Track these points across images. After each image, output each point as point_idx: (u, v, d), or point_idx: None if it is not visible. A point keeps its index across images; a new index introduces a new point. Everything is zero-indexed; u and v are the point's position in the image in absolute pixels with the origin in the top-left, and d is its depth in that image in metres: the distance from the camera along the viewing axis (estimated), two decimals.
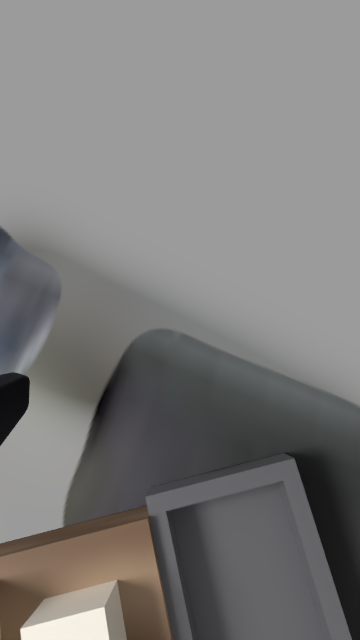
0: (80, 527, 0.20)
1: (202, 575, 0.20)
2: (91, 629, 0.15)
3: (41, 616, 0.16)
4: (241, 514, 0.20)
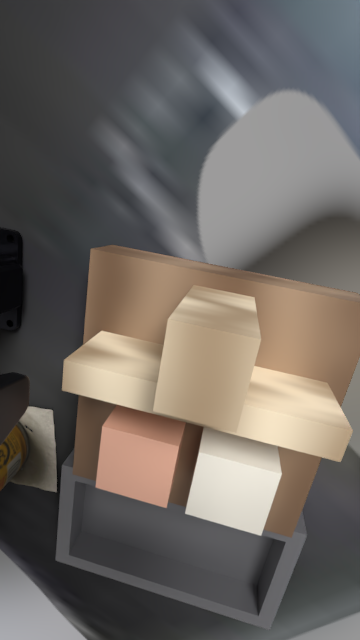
0: None
1: None
2: (250, 521, 0.17)
3: None
4: (242, 552, 0.24)
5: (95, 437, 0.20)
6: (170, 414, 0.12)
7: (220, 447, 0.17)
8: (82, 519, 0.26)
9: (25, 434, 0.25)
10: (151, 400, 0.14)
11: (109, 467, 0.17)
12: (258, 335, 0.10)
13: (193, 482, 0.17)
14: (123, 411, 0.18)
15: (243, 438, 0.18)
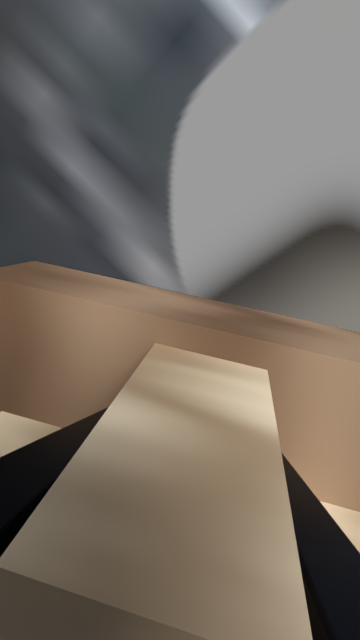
0: None
1: None
2: None
3: None
4: None
5: None
6: None
7: None
8: None
9: None
10: None
11: None
12: (303, 629, 0.03)
13: None
14: None
15: None
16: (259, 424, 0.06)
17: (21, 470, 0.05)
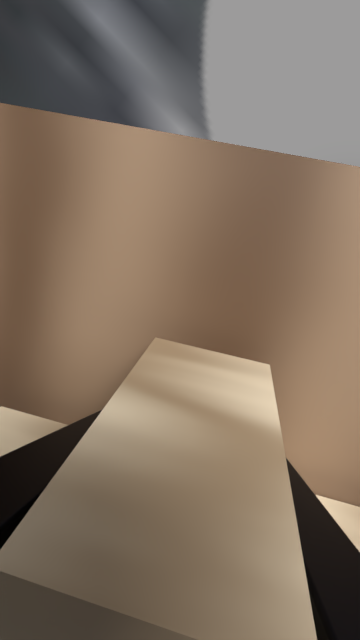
0: None
1: None
2: None
3: None
4: None
5: None
6: None
7: None
8: None
9: None
10: None
11: None
12: (308, 632, 0.03)
13: None
14: None
15: None
16: (261, 420, 0.06)
17: (20, 470, 0.05)
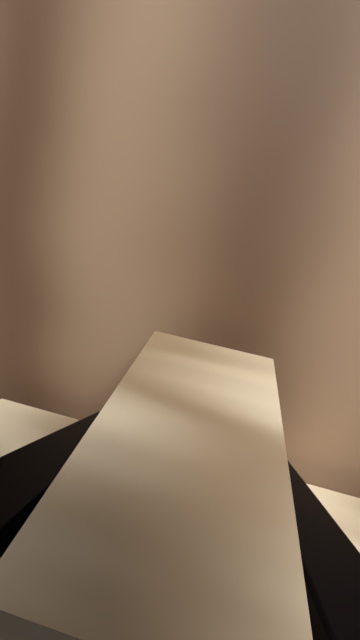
0: None
1: None
2: None
3: None
4: None
5: (27, 313, 0.10)
6: None
7: None
8: None
9: None
10: None
11: None
12: None
13: None
14: None
15: None
16: (263, 422, 0.06)
17: (21, 470, 0.05)
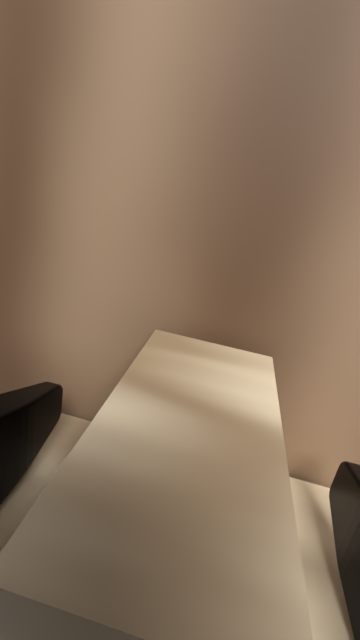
0: None
1: None
2: None
3: None
4: None
5: None
6: None
7: None
8: None
9: None
10: None
11: None
12: None
13: None
14: None
15: None
16: (262, 417, 0.06)
17: None
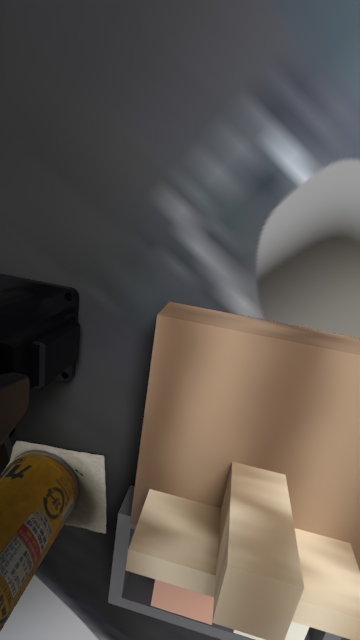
0: None
1: None
2: None
3: None
4: None
5: (155, 489, 0.20)
6: (227, 626, 0.14)
7: None
8: None
9: (75, 478, 0.25)
10: (203, 585, 0.16)
11: None
12: (301, 578, 0.13)
13: None
14: (162, 591, 0.21)
15: None
16: (285, 511, 0.16)
17: None
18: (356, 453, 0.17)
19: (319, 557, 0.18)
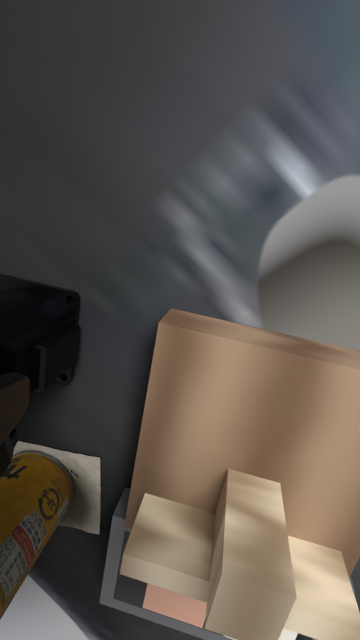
0: None
1: None
2: None
3: None
4: None
5: (150, 493, 0.21)
6: (219, 632, 0.14)
7: None
8: None
9: (70, 479, 0.25)
10: (196, 590, 0.17)
11: None
12: (293, 588, 0.13)
13: None
14: (154, 594, 0.21)
15: None
16: (279, 519, 0.16)
17: None
18: (350, 464, 0.17)
19: (310, 565, 0.18)
